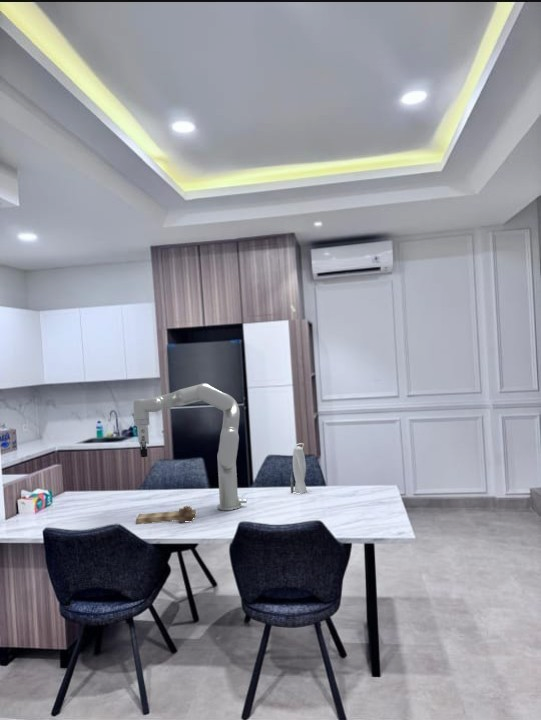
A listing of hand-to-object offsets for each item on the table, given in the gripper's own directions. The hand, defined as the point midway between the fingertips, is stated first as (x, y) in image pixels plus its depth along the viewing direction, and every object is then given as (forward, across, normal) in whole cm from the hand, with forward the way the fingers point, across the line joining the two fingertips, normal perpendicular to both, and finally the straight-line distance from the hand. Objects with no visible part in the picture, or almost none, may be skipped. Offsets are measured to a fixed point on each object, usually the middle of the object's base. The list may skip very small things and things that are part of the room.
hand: (143, 455), depth 250 cm
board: (+31, -13, -9) cm, 34 cm away
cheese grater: (+32, +4, -86) cm, 91 cm away
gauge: (+31, -18, -18) cm, 40 cm away
